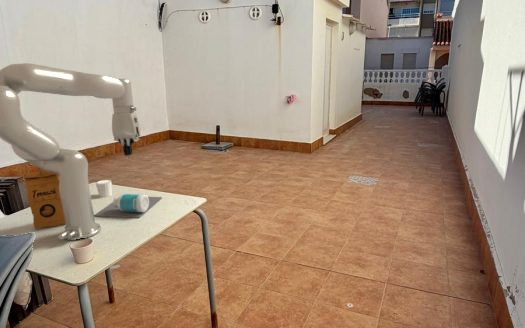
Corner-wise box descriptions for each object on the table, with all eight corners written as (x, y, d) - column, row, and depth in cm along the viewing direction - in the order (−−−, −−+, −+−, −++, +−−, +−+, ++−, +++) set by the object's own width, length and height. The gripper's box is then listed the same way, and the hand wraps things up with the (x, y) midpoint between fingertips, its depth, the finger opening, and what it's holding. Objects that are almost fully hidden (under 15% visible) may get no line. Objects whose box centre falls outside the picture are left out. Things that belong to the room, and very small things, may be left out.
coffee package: (68, 226, 133) (58, 172, 127) (31, 232, 129) (18, 176, 123) (72, 216, 142) (62, 165, 136) (37, 221, 138) (25, 169, 132)
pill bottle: (144, 191, 141) (114, 190, 144) (138, 208, 137) (108, 206, 140) (151, 199, 147) (123, 197, 150) (146, 215, 144) (117, 213, 146)
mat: (139, 218, 139) (139, 216, 139) (94, 216, 141) (93, 215, 141) (161, 198, 160) (161, 197, 160) (121, 197, 162) (121, 196, 162)
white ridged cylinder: (102, 198, 161) (100, 184, 159) (95, 196, 165) (92, 182, 163) (116, 194, 166) (114, 180, 164) (108, 191, 170) (106, 178, 168)
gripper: (145, 109, 140) (149, 153, 144) (112, 109, 142) (116, 152, 147) (136, 111, 133) (140, 157, 137) (100, 111, 135) (106, 156, 139)
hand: (128, 154), depth 142 cm, fingers closed
